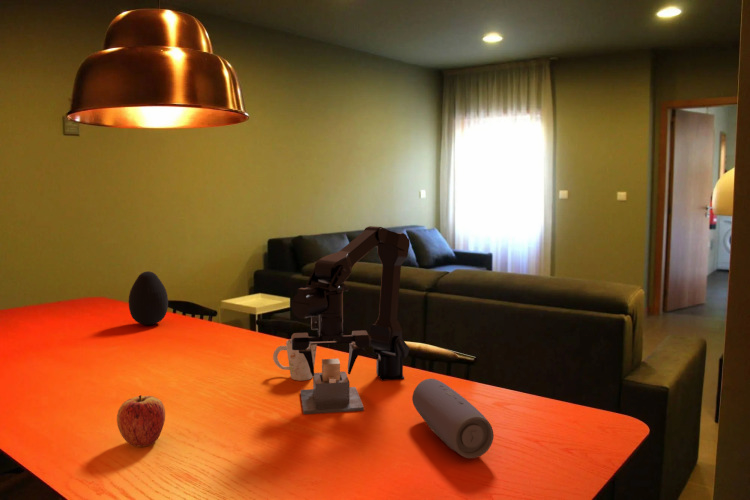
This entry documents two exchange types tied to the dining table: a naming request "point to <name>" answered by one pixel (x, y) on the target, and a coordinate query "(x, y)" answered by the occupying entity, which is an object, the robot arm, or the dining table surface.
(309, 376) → the mug
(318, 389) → the stand base
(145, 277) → the egg
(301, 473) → the dining table surface
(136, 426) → the apple
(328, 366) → the column
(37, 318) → the dining table surface
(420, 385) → the bluetooth speaker
